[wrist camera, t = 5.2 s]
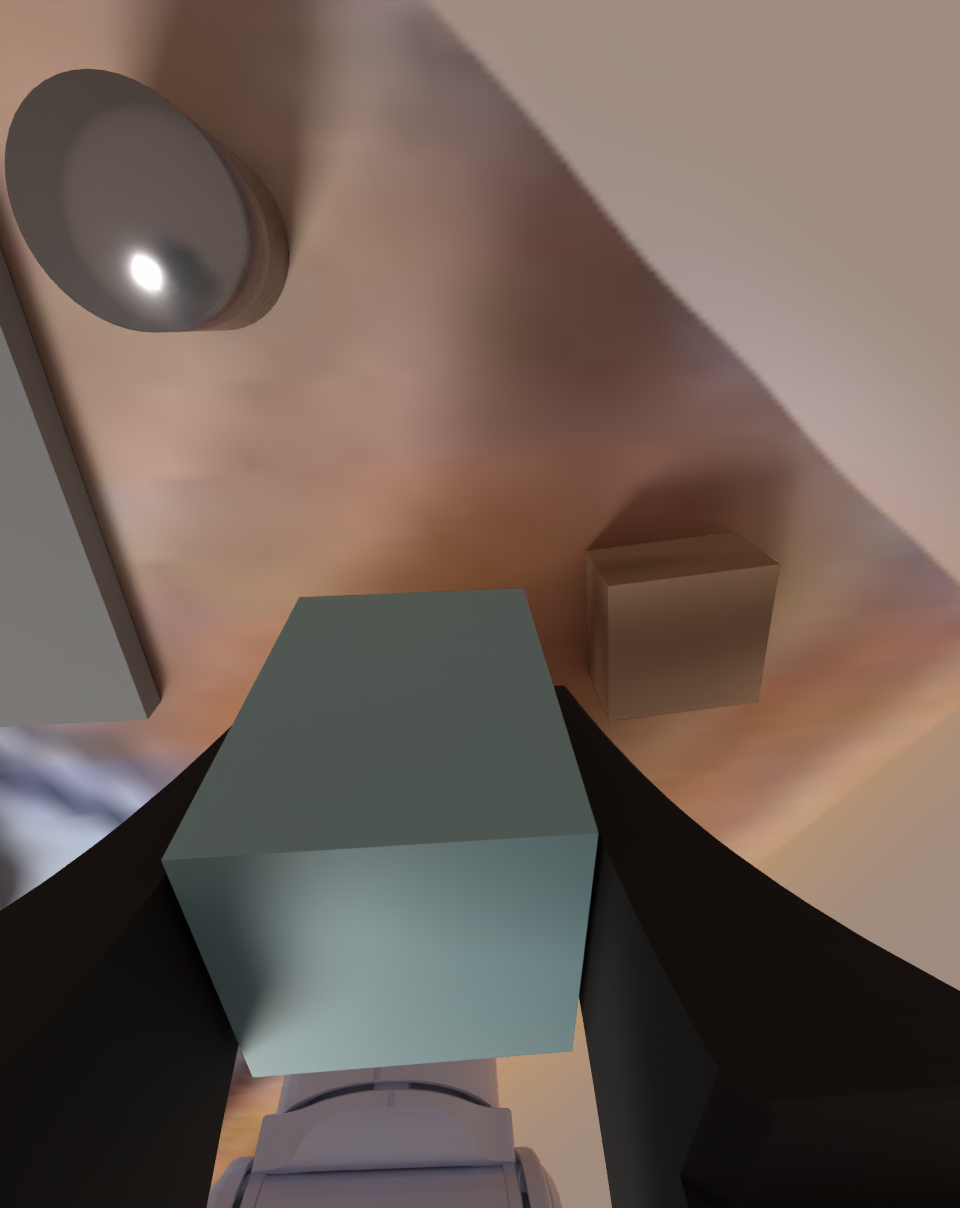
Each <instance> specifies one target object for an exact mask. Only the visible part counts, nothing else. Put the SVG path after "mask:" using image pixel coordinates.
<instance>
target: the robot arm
mask: <svg viewBox="0 0 960 1208" xmlns="http://www.w3.org/2000/svg"><path fill="white" fill-rule="evenodd" d="M554 690H555V693H556V696H557V699H558V703H559V706H560V709H561V712H562V716H563V719H564V722H565V725H566V729H567V732H568V735H569V738H570V742H571V745H572V748H573V752H574V755H575V758H576V761H577V765H578V768H579V771H580V774H581V778H582V781H583V784H584V787H585V791H586V794H587V797H588V800H589V804H590V807H591V810H592V814H593V817H594V820H595V823H596V827H597V830H598V841H597V849H596V858H595V866H594V874H593V883H592V891H591V899H590V907H589V916H588V924H587V932H586V941H585V949H584V957H583V965H582V974H581V982H580V990H579V1000H580V1005H581V1011H582V1016H583V1023H584V1029H585V1035H586V1041H587V1047H588V1053H589V1060H590V1066H591V1072H592V1078H593V1084H594V1091H595V1097H596V1103H597V1110H598V1117H599V1123H600V1130H601V1136H602V1143H603V1149H604V1156H605V1162H606V1169H607V1175H608V1182H609V1189H610V1196H611V1203H612V1208H960V991H959V990H957V989H955V988H953V987H952V986H949V985H948V984H946V983H944V982H942V981H941V980H939V979H937V978H935V977H934V976H932V975H930V974H928V973H926V972H924V971H923V970H921V969H919V968H917V967H915V966H913V965H912V964H910V963H908V962H906V961H904V960H903V959H901V958H899V957H897V956H895V955H893V954H892V953H890V952H888V951H886V950H884V949H883V948H881V947H879V946H877V945H876V944H874V943H872V942H870V941H868V940H867V939H865V938H863V937H862V936H860V935H858V934H857V933H855V932H853V931H852V930H850V929H848V928H847V927H845V926H844V925H842V924H840V923H839V922H837V921H836V920H834V919H832V918H831V917H829V916H828V915H826V914H824V913H823V912H821V911H819V910H818V909H816V908H814V907H813V906H811V905H810V904H808V903H807V902H805V901H804V900H802V899H801V898H799V897H797V896H796V895H794V894H793V893H791V892H790V891H788V890H787V889H785V888H784V887H782V886H781V885H779V884H778V883H776V882H775V881H774V880H772V879H771V878H769V877H768V876H767V875H765V874H764V873H762V872H761V871H760V870H758V869H757V868H755V867H754V866H753V865H751V864H750V863H748V862H747V861H745V860H744V859H743V858H741V857H740V856H738V855H737V854H736V853H734V852H733V851H732V850H730V849H729V848H728V847H726V846H725V845H724V844H722V843H721V842H720V841H718V840H717V839H716V838H715V837H713V836H712V835H711V834H710V833H708V832H707V831H706V830H705V829H703V828H702V827H701V826H700V825H699V824H697V823H696V822H695V821H694V820H692V819H691V818H690V817H689V816H688V815H686V814H685V813H684V812H683V811H682V810H681V809H680V808H678V807H677V806H676V805H675V804H674V803H673V802H672V801H671V800H670V799H668V798H667V797H666V796H665V795H664V794H663V793H662V792H661V791H660V790H659V789H658V788H657V787H656V786H655V785H654V784H653V783H652V782H650V781H649V780H648V779H647V778H646V777H645V776H644V775H643V774H642V773H641V772H640V771H639V770H638V769H637V768H636V767H635V766H634V765H633V764H632V763H631V762H630V761H629V759H628V758H627V757H626V756H625V755H624V754H623V753H622V752H621V751H620V750H619V749H618V748H617V747H616V746H615V745H614V743H613V742H612V741H611V740H610V739H609V738H608V737H607V736H606V735H605V734H604V732H603V731H602V730H601V729H600V728H599V727H598V725H597V724H596V723H595V722H594V721H593V720H592V718H591V717H590V716H589V715H588V714H587V713H586V711H585V710H584V709H583V708H582V706H581V705H580V704H579V703H578V701H577V700H576V699H575V698H574V696H573V695H572V694H571V693H570V691H569V690H568V689H567V688H566V687H565V686H554ZM230 728H231V727H230ZM230 728H229V729H228V730H227V731H226V732H225V733H224V734H223V735H221V736H220V737H219V738H218V739H217V740H216V741H215V742H214V743H213V744H212V745H211V746H210V747H209V748H208V749H207V750H206V751H204V752H203V753H202V754H201V755H200V756H199V757H198V758H197V759H196V760H195V761H194V762H193V763H191V764H190V765H189V766H188V767H187V768H186V769H185V770H184V771H183V772H182V773H181V774H180V775H178V776H177V777H176V778H175V779H174V780H173V781H172V782H170V783H169V784H168V785H167V786H166V787H165V788H163V789H162V790H161V791H160V792H159V793H157V794H156V795H155V796H154V797H153V798H152V799H150V800H149V801H148V802H147V803H146V804H145V805H143V806H142V807H141V808H140V809H139V810H138V811H136V812H135V813H134V814H133V815H132V816H130V817H129V818H128V819H127V820H126V821H125V822H123V823H122V824H121V825H120V826H118V827H117V828H116V829H115V830H113V831H112V832H111V833H109V834H108V835H107V836H106V837H104V838H103V839H102V840H100V841H99V842H98V843H97V844H95V845H94V846H93V847H91V848H90V849H89V850H87V851H86V852H85V853H83V854H82V855H80V856H79V857H78V858H76V859H75V860H74V861H72V862H71V863H70V864H68V865H67V866H65V867H64V868H63V869H61V870H60V871H59V872H57V873H56V874H54V875H53V876H52V877H50V878H49V879H47V880H46V881H45V882H43V883H42V884H40V885H39V886H37V887H36V888H34V889H33V890H31V891H30V892H28V893H27V894H25V895H24V896H22V897H21V898H19V899H18V900H16V901H15V902H13V903H12V904H10V905H8V906H7V907H5V908H4V909H2V910H1V911H0V1208H562V1204H561V1201H560V1197H559V1194H558V1191H557V1188H556V1186H555V1183H554V1181H553V1179H552V1177H551V1176H550V1175H549V1173H548V1172H547V1171H546V1169H545V1168H544V1167H543V1166H542V1164H541V1163H540V1160H539V1158H538V1156H537V1155H536V1154H535V1152H534V1151H533V1149H531V1148H528V1147H514V1138H513V1127H512V1116H511V1110H510V1109H509V1108H499V1097H498V1084H497V1070H496V1058H484V1059H472V1060H460V1061H447V1062H435V1063H423V1064H411V1065H398V1066H386V1067H374V1068H361V1069H349V1070H337V1071H325V1072H312V1073H300V1074H288V1075H285V1076H284V1081H283V1086H282V1091H281V1095H280V1100H279V1105H278V1110H277V1114H270V1115H266V1116H264V1117H263V1121H262V1125H261V1130H260V1134H259V1138H258V1143H257V1147H256V1152H255V1156H250V1157H239V1158H237V1159H235V1160H233V1161H232V1162H231V1163H230V1165H229V1166H228V1167H227V1169H226V1170H225V1172H224V1174H223V1175H222V1176H221V1177H220V1179H219V1180H218V1181H217V1182H216V1183H215V1184H214V1185H213V1186H212V1188H211V1189H210V1187H211V1181H212V1176H213V1171H214V1165H215V1160H216V1155H217V1149H218V1144H219V1138H220V1133H221V1128H222V1123H223V1118H224V1113H225V1108H226V1103H227V1098H228V1093H229V1088H230V1084H231V1079H232V1074H233V1069H234V1064H235V1059H236V1054H237V1050H238V1045H239V1043H238V1041H237V1039H236V1036H235V1034H234V1032H233V1029H232V1027H231V1024H230V1022H229V1020H228V1017H227V1015H226V1013H225V1010H224V1008H223V1006H222V1003H221V1001H220V998H219V996H218V994H217V991H216V989H215V987H214V984H213V982H212V980H211V977H210V975H209V972H208V970H207V968H206V965H205V963H204V961H203V958H202V956H201V954H200V951H199V949H198V946H197V944H196V942H195V939H194V937H193V935H192V932H191V930H190V928H189V925H188V923H187V920H186V918H185V916H184V913H183V911H182V909H181V906H180V904H179V902H178V899H177V897H176V894H175V892H174V890H173V887H172V885H171V883H170V880H169V878H168V875H167V873H166V871H165V868H164V866H163V864H162V861H161V860H162V858H163V856H164V854H165V852H166V850H167V848H168V846H169V844H170V842H171V841H172V839H173V837H174V835H175V833H176V831H177V829H178V827H179V825H180V823H181V822H182V820H183V818H184V816H185V814H186V812H187V810H188V808H189V806H190V804H191V803H192V801H193V799H194V797H195V795H196V793H197V791H198V789H199V787H200V785H201V784H202V782H203V780H204V778H205V776H206V774H207V772H208V770H209V768H210V766H211V764H212V763H213V761H214V759H215V757H216V755H217V753H218V751H219V749H220V747H221V745H222V744H223V742H224V740H225V738H226V736H227V734H228V732H229V730H230Z"/></svg>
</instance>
